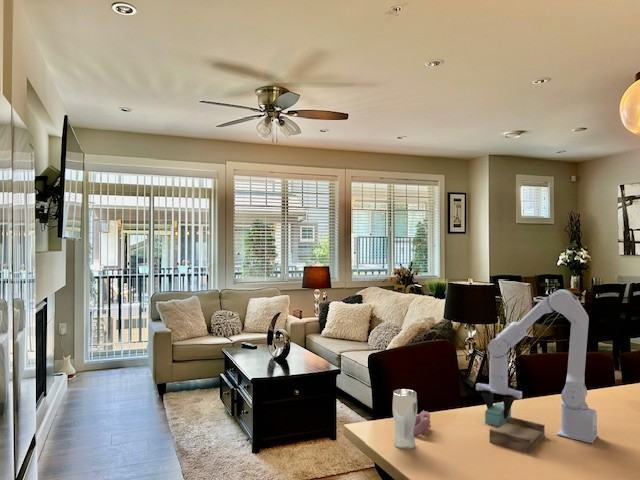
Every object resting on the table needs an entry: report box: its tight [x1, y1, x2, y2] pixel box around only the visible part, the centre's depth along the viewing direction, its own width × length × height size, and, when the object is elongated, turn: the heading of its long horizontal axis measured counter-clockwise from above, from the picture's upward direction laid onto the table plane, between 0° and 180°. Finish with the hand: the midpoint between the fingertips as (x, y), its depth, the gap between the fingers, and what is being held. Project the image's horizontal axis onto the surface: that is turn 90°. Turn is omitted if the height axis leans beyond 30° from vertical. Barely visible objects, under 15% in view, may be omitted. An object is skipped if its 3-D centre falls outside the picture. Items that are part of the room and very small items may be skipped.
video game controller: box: [414, 409, 432, 437], centre depth 146 cm, size 10×5×7 cm, turn 169°
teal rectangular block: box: [484, 402, 512, 427], centre depth 155 cm, size 4×11×4 cm, turn 139°
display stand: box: [489, 416, 546, 453], centre depth 140 cm, size 11×15×4 cm
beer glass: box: [392, 388, 418, 450], centre depth 135 cm, size 7×7×15 cm
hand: (498, 415), depth 155 cm, fingers closed on teal rectangular block, 4 cm apart
